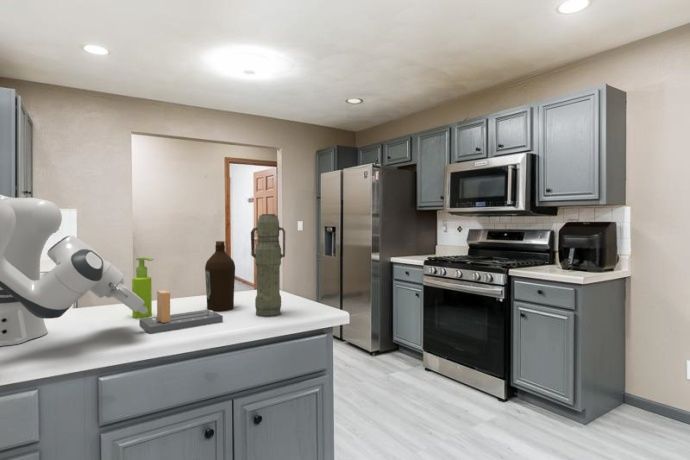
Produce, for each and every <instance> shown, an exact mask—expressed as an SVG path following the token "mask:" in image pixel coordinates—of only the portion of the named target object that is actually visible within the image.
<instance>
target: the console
mask: <svg viewBox="0 0 690 460" xmlns="http://www.w3.org/2000/svg"><path fill="white" fill-rule="evenodd" d="M223 317H224V316H223V315H222V314H219V313H218V312H215V311H212V310H209V309H208V310H207V309H202V310H195V311H187V312H182V313H181V312H180V313H173V314H170V322H165V323H161V322H160V321H158V320H157V316H150V317H146V318H138V319H139V320H138V321H139V322H138V323H139V326H140V327H141V328H142V329H143V330H145V331H146V333H148V334H149V335H151V334H157V333H163V332H170V331H175V330H176V331H177V330H182V329H183V330H184V329H187V328H188V329H189V328H193V327H194V328H195V327H201V325H202V326H207V324H208V325H212V324H213V323H214V324H218V323H223V322H224V319H223ZM214 324H213V325H214Z"/></svg>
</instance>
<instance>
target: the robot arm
mask: <svg viewBox="0 0 690 460" xmlns="http://www.w3.org/2000/svg"><path fill="white" fill-rule="evenodd" d="M62 217H63V216H62V211H61V209H60V207H58V205H57V204H56V203H54V202H53V201H50V200H46V199H43V198H42V199H41V198H38V197H10V196H6V195H2V194H1V193H0V347H1V346H3V347H4V346H12V345H19V344H22V343H25V342H27V341H29V340H33V339H37V338H39V337H43V336H44V335H46V334H48V328H47V326H46V323H45V320H46V319H58V318H60V317H62V316H63V315H64V314H65V313H66V312H68V310H69V309H71V307H72V306H73V305H74V304H75V303H76V302H78V301H79V300H80V299H82V298H83V296H85V295H86V294H87V293H88V292H90V293H92V294H94V295H95V296H96V297H98V298H100V299H101V298H103V297H106V298H108V299H109V298H111V297H113V298H114V299H116V300H117V301H119V302H121V303H122V304H123V305H124V306H126V307H127V308H129V309H130V310H133V311H135V312H136V311H137V310H138V311H139V312H141V313H142V314H145V313H146V312H147V311H148V309H147V308H145V307H144V306H143V304H144V301H143V300H142V299H141V298H140V297H139V296H137V295H136V294H135V293H134V292H132V289H129V287H127V286H126V285H125V284H126V280H125V279H124V276H125V273H124V272H122V270H121V269H119V268H117V267H116V266H115V265H114V264H112V263H111V262H110V261H108V260H106V259H105V258H103V257H102V256H101V255H100V253H99V252H98V251H97V250H96V249H94V248H93V247H92V246H90V245H89V244H88V243H86V242H85V241H83V240H81V239H80V238H78V237H76V236H74V235H67V236H65V237H62V239H61V240H59V241H57V242H56V243H55V244H53V245H52V246H51V247H50V248H49V249H48V250H47V253H46V255H47V256H48V257H49V258H50V260H51V261H53V263H54V264H55V265H56V266H54V267H53V268H52V269H50V270H49V272H47V273H46V274H45V275H44V276H42V277H41V274H40V273H41V258H42V253H43V251H44V250H43V249H44V248H45V245H46V243H47V241H48V240H49V238H50V237H51V236H52V235H53V234H54V233H56V232H57V231H58V230H59V228H60V227H61V225H62V221H63V218H62ZM44 319H45V320H44Z"/></svg>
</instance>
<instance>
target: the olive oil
mask: <svg viewBox="0 0 690 460" xmlns="http://www.w3.org/2000/svg"><path fill="white" fill-rule="evenodd" d="M214 246H215V251H214V253H213V254H212V255H211V256H210V257H209V258H208V259H207V261H206V263H205V267H204V275H205V288H206V289H205V290H206V293H205V294H206V310H208V309H209V310H212V311H214V312H215V313H219V312H227V311H231V310H233V309H234V307H235V305H234V304H235V283H236V282H235V279H236V265H235V261H234V259H233V258H232V257H231V256H230V255H229V254H228V253H227V252H226V245H225V241H224V240H217V241H215V245H214Z"/></svg>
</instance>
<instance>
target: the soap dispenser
mask: <svg viewBox="0 0 690 460" xmlns="http://www.w3.org/2000/svg"><path fill="white" fill-rule="evenodd" d="M135 260H136V261H138V267H135V271H136V272H135V274H136V275H135V277H132V278H131V288H132V289H131V291H132V292H134V293H135V294H136V295H137V296H139V297H140V298H141V299H142V300H143V301H144V304H143V306H144V307H145V308H147V309H148V311H147V312H146V313H145V314H142V313H141V312H139V311H138V310H137V311H136V312H135V311H133V310H132V318H134V319H143V318H150V317H153V311H152V306H153V305H152V302H153V301H152V299H153V298H152V297H153V296H152V277H151V276H148V267H147V266H145V261H153V260H154V258H152V257H136V259H135Z"/></svg>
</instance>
